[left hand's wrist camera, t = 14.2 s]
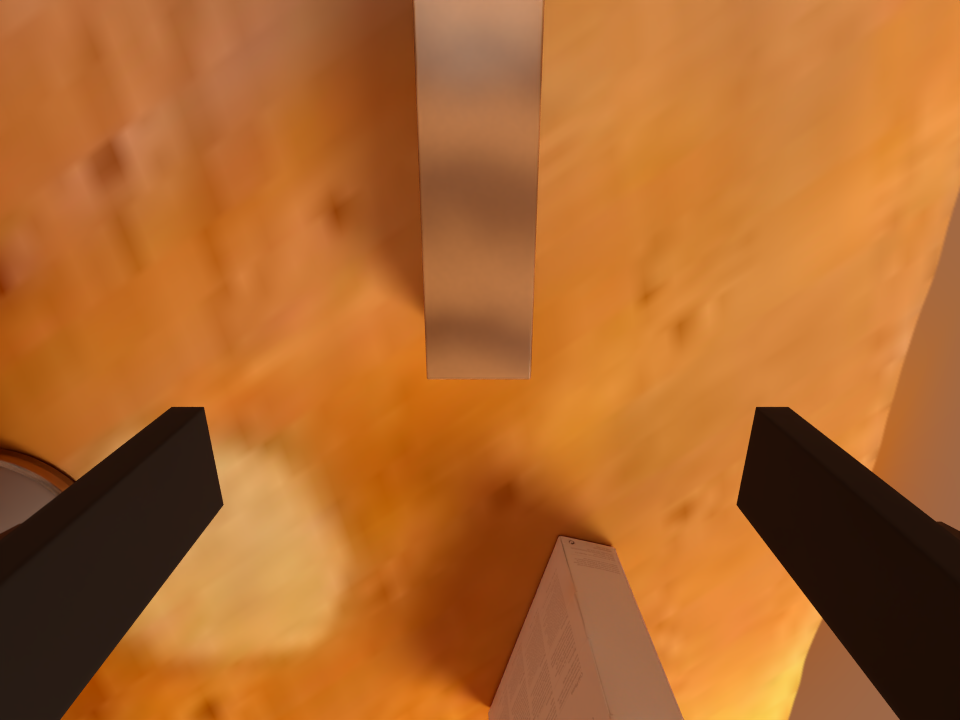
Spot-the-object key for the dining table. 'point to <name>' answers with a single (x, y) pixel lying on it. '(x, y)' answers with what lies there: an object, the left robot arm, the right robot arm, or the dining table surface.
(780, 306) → the dining table surface
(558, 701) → the skincare box
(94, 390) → the dining table surface
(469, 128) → the bar
